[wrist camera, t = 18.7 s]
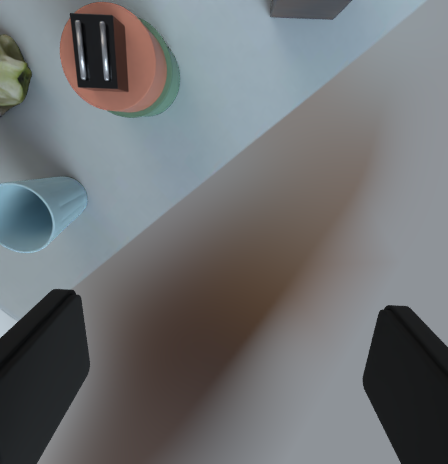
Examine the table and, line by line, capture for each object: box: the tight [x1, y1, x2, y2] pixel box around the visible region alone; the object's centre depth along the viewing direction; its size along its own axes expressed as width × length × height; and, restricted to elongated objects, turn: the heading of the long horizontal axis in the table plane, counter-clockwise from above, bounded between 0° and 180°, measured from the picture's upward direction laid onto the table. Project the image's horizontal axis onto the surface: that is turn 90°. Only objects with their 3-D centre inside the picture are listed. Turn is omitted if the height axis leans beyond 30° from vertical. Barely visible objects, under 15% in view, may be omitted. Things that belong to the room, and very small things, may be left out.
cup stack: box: [60, 2, 180, 118], centre depth 31 cm, size 9×9×11 cm
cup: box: [0, 177, 87, 253], centre depth 37 cm, size 8×8×10 cm
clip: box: [70, 13, 129, 92], centre depth 25 cm, size 3×5×3 cm, turn 178°
